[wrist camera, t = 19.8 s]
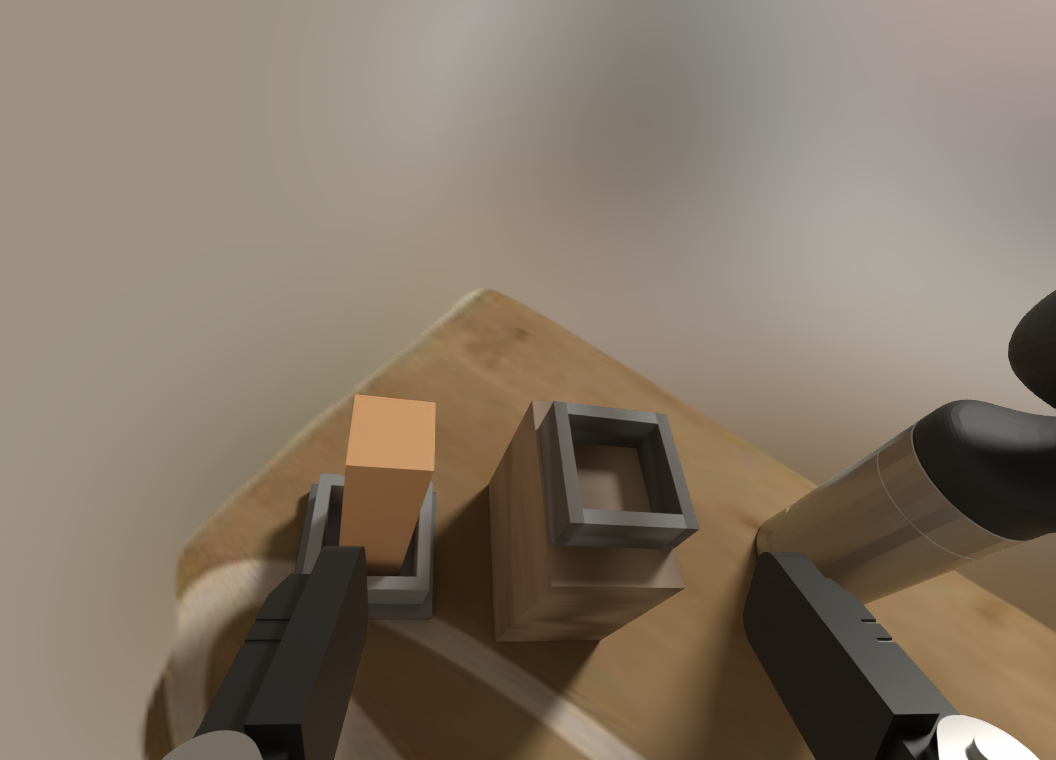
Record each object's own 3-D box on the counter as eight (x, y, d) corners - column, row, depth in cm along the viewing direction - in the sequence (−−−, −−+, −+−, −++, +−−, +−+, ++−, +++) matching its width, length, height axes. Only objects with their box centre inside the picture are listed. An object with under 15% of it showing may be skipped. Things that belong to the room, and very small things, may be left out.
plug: (401, 520, 39) (435, 402, 28) (398, 576, 36) (434, 471, 25) (344, 518, 38) (355, 394, 26) (336, 575, 35) (345, 465, 24)
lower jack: (433, 497, 42) (442, 473, 39) (429, 619, 36) (439, 601, 33) (311, 490, 39) (311, 463, 36) (287, 619, 34) (284, 600, 31)
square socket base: (578, 490, 46) (660, 387, 35) (600, 640, 39) (714, 569, 28) (488, 484, 44) (546, 372, 33) (494, 642, 36) (572, 566, 25)
